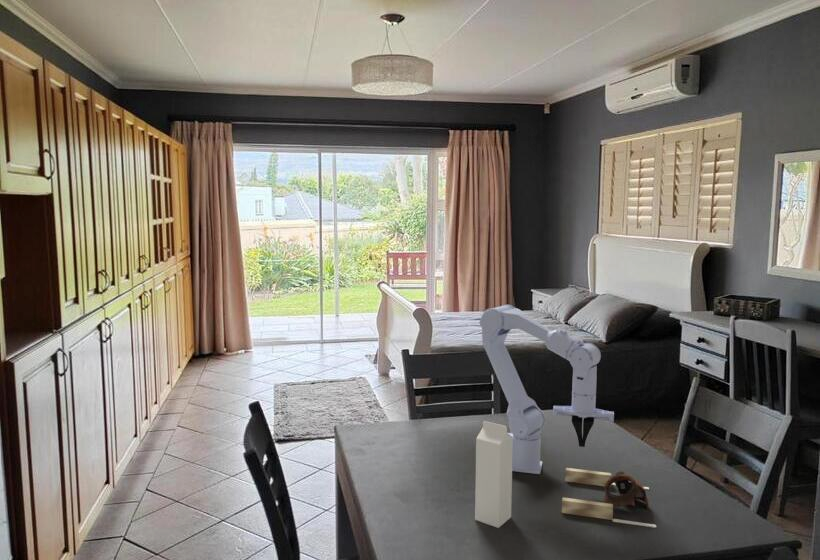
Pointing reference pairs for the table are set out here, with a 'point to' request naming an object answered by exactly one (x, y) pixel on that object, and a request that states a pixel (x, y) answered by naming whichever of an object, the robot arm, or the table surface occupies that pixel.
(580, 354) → the robot arm
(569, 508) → the cradle
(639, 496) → the pottery mug
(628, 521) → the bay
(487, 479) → the milk
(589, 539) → the table surface
